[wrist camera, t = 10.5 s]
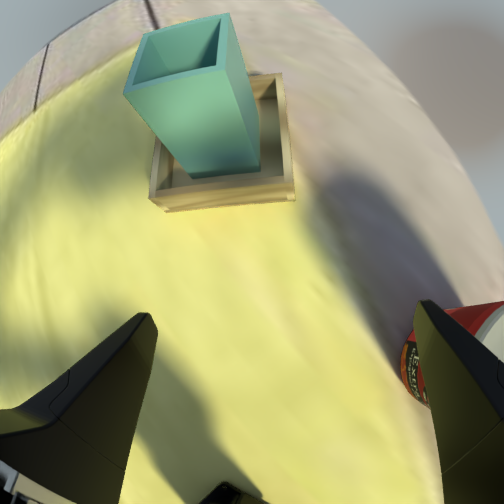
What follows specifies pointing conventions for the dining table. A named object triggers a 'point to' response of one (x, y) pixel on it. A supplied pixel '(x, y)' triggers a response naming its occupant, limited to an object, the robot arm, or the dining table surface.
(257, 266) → the dining table surface
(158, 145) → the pine crate
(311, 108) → the dining table surface
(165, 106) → the teal crate
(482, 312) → the canned food
